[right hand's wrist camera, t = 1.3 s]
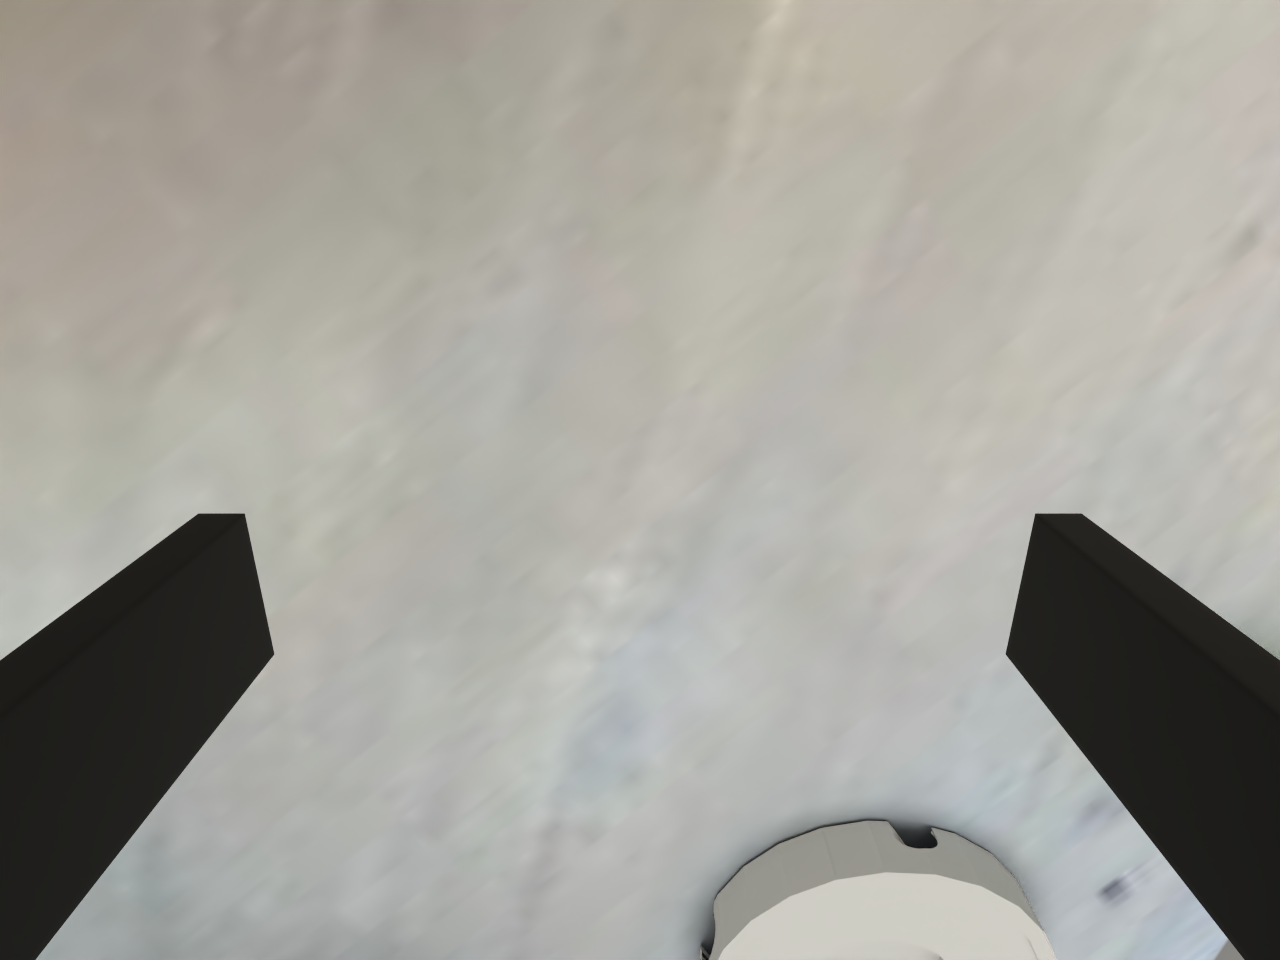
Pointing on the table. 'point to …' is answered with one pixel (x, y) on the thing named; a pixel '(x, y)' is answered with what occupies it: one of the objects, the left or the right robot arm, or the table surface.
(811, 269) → the table surface
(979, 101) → the table surface
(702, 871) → the table surface
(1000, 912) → the white notched ring base
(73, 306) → the table surface
